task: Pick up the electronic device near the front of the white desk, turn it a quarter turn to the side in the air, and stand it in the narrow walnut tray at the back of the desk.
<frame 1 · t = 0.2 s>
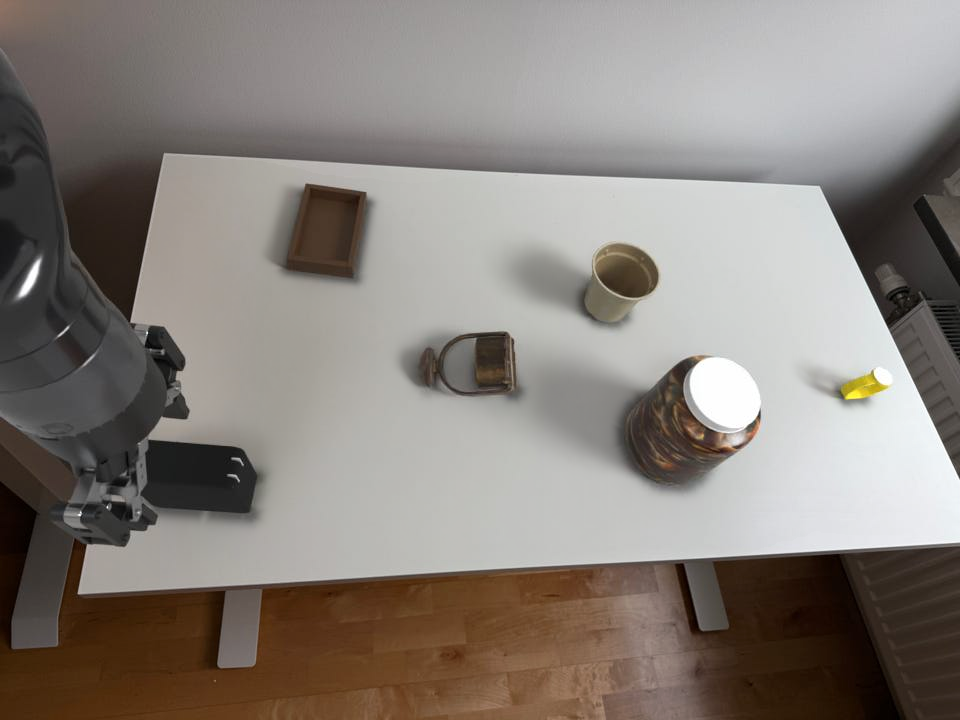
hand: (160, 465, 47), 20 cm above the table, tool pointing down, fingers open, 8 cm apart
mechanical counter: (469, 371, 78), on the table
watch: (850, 395, 86), on the table
electronic device: (208, 492, 66), on the table
tray: (329, 235, 85), on the table
flower pot: (604, 306, 87), on the table
jar: (665, 441, 78), on the table
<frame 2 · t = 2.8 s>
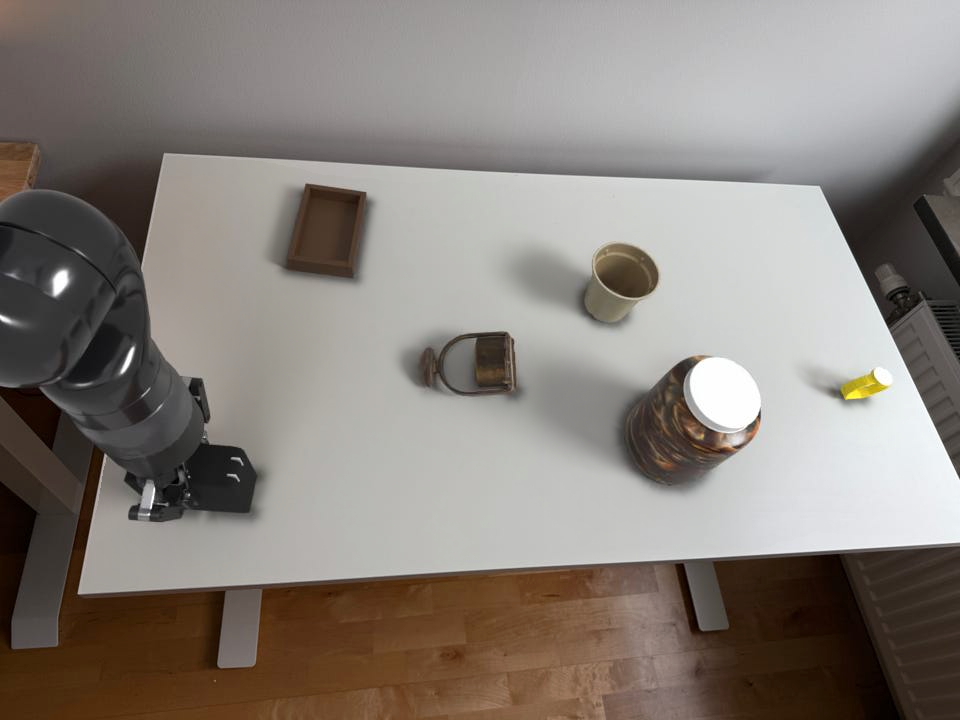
hand: (195, 477, 61), 5 cm above the table, tool pointing down, fingers closed on electronic device, 4 cm apart
electronic device: (208, 492, 66), on the table, touching gripper
everything else where it was.
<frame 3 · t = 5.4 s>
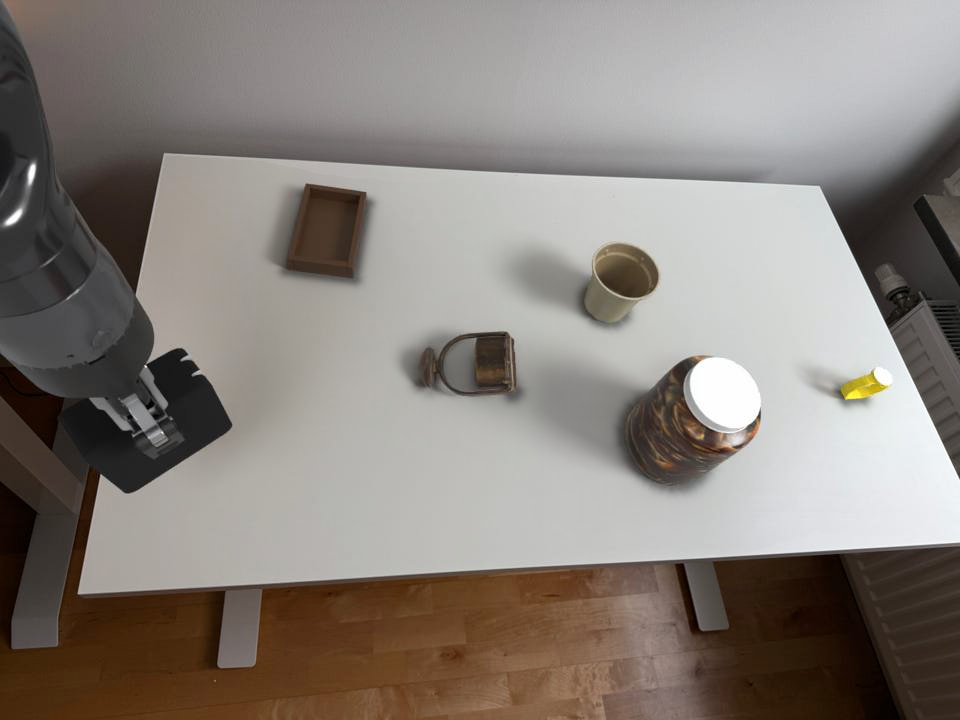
hand: (153, 421, 49), 19 cm above the table, tool pointing down, fingers closed on electronic device, 4 cm apart
electronic device: (172, 445, 54), point 14 cm above the table, touching gripper
everything else where it was.
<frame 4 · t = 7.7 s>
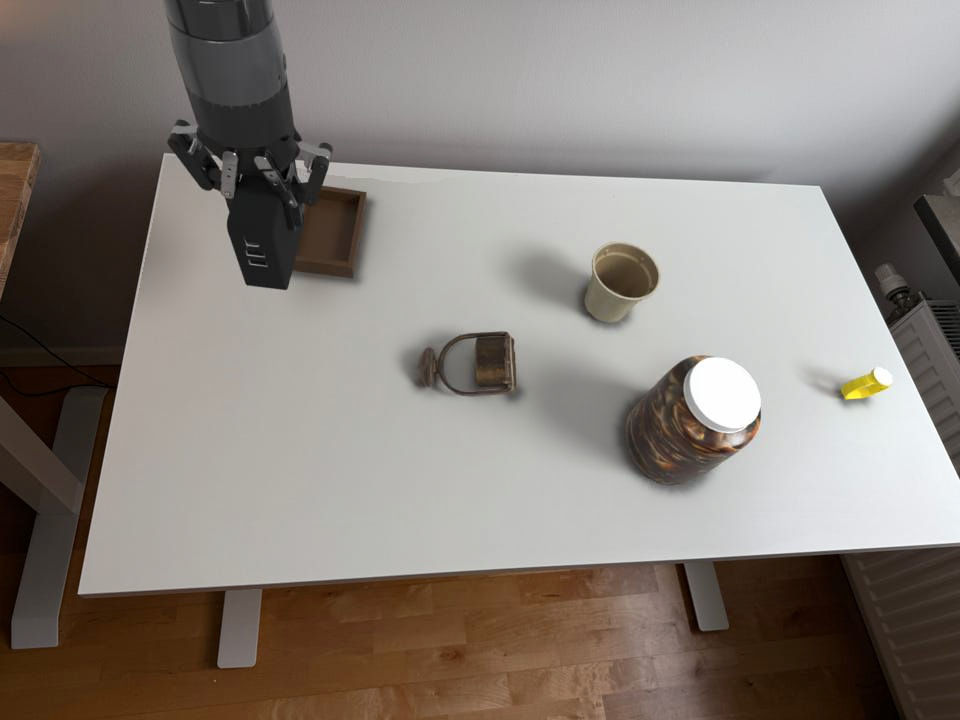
hand: (269, 220, 60), 20 cm above the table, tool pointing down, fingers closed on electronic device, 4 cm apart
electronic device: (277, 254, 65), point 14 cm above the table, touching gripper
everything else where it was.
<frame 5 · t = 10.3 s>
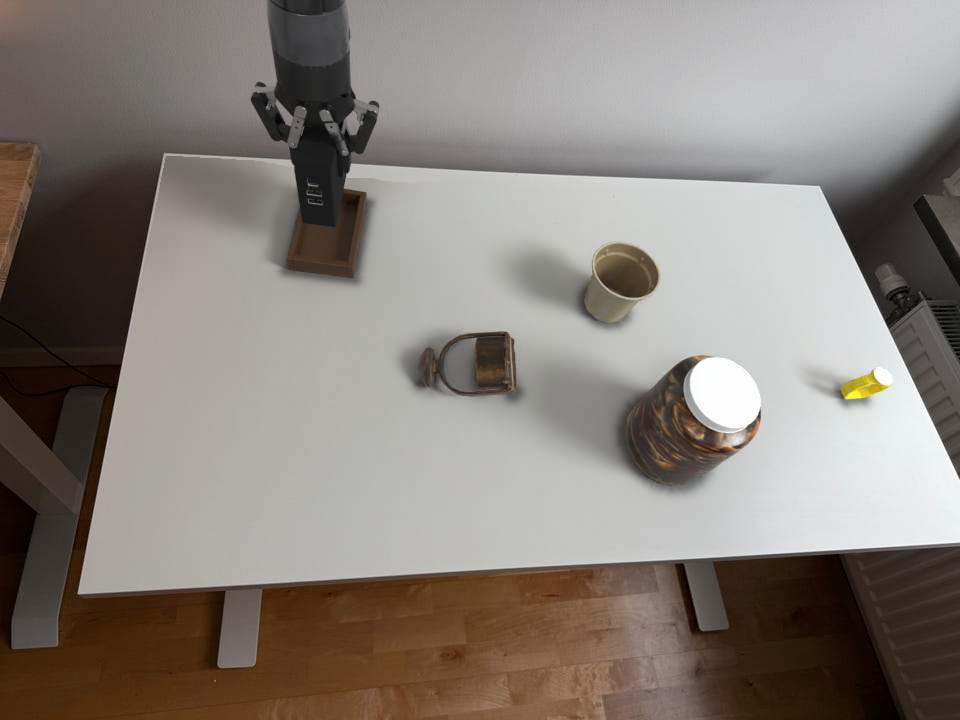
hand: (322, 168, 74), 13 cm above the table, tool pointing down, fingers closed on electronic device, 4 cm apart
electronic device: (325, 200, 79), point 7 cm above the table, touching gripper
everything else where it was.
when the fingers open (6 cm above the table, at t = 12.4 s): electronic device stays where it is, resting on tray.
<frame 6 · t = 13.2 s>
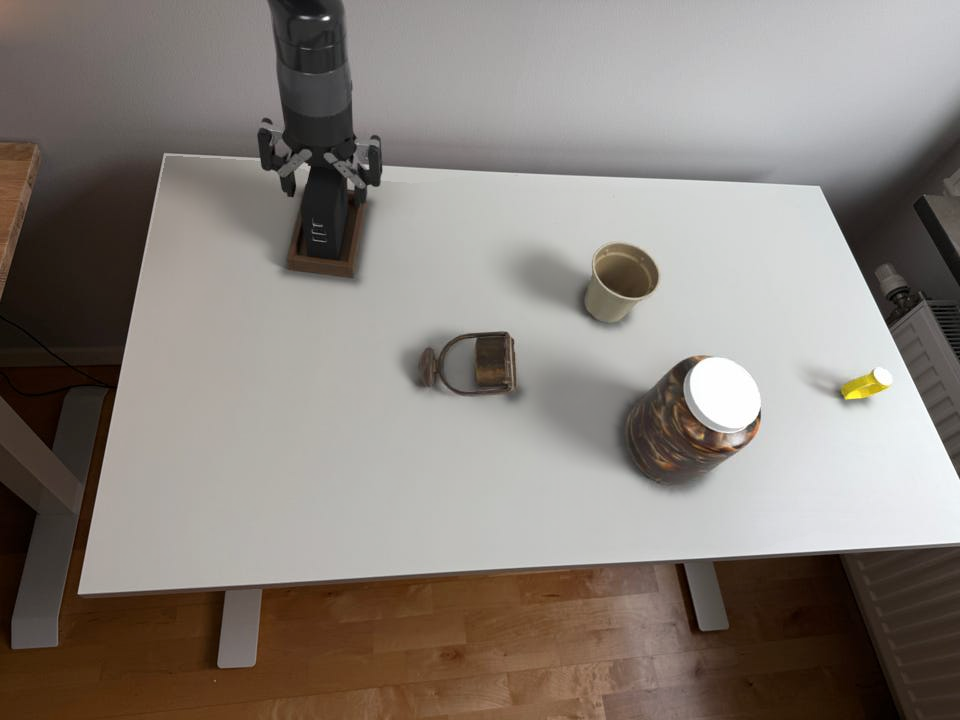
hand: (325, 197, 78), 8 cm above the table, tool pointing down, fingers open, 8 cm apart
electronic device: (328, 234, 84), resting on tray
everything else where it was.
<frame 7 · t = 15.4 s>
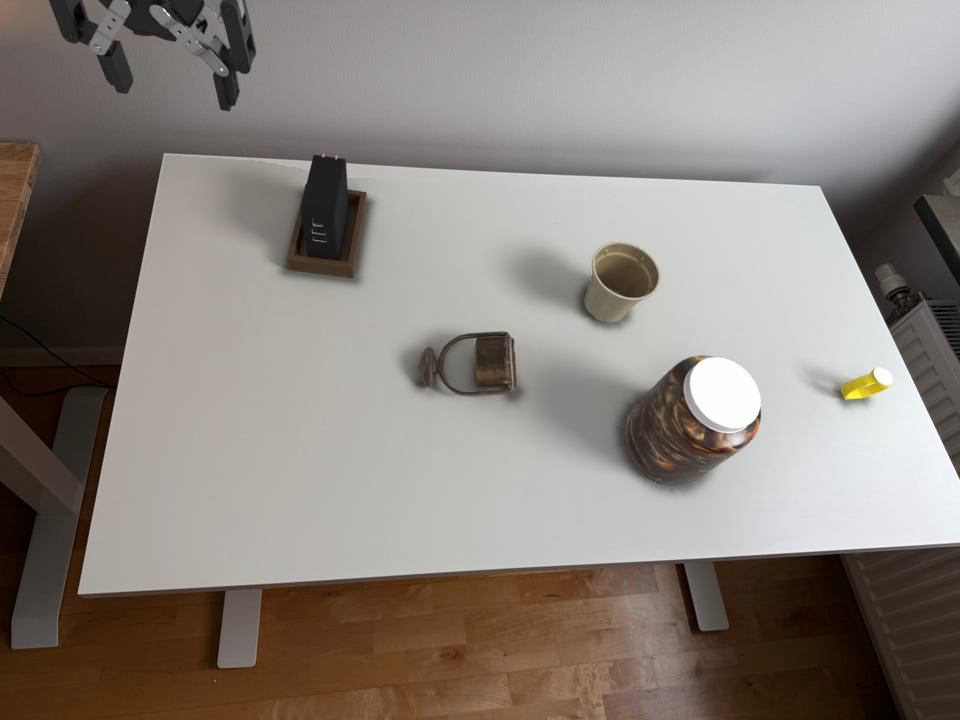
hand: (177, 96, 53), 29 cm above the table, tool pointing down, fingers open, 8 cm apart
nothing on the table moved.
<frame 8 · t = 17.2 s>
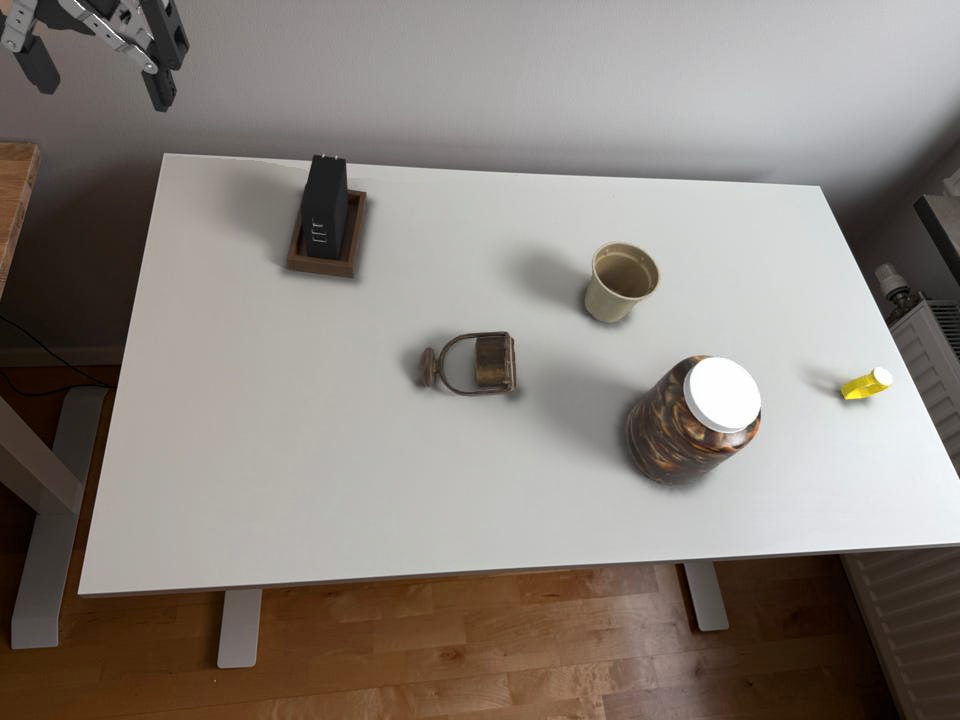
hand: (109, 96, 48), 32 cm above the table, tool pointing down, fingers open, 8 cm apart
nothing on the table moved.
at the end: electronic device inside the target area in the tray (0.1 cm from its centre), point 0.3 cm above the tray's base; electronic device tilted 0° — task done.
